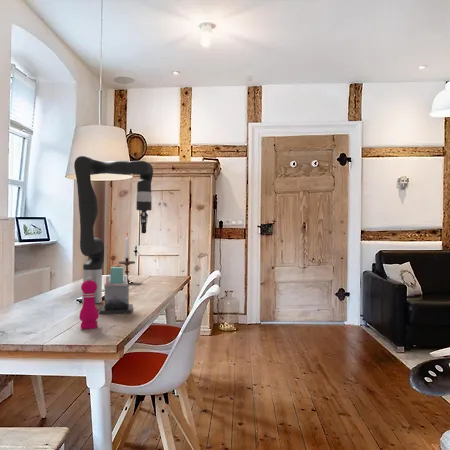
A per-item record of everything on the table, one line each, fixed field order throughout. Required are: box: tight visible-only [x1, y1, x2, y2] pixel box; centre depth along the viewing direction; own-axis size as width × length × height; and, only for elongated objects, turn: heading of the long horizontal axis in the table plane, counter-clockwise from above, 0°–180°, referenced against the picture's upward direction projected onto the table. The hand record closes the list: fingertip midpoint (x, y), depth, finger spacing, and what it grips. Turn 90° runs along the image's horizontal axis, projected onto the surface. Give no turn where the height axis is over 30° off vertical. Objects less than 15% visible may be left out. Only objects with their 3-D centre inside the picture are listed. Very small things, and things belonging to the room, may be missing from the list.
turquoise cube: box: [109, 266, 124, 283], centre depth 195 cm, size 6×5×7 cm
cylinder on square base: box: [98, 274, 134, 315], centre depth 195 cm, size 14×14×16 cm
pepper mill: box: [79, 277, 100, 330], centre depth 164 cm, size 7×7×20 cm
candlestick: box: [118, 232, 136, 283], centre depth 284 cm, size 11×11×35 cm
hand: (143, 233), depth 210 cm, fingers open, 8 cm apart
